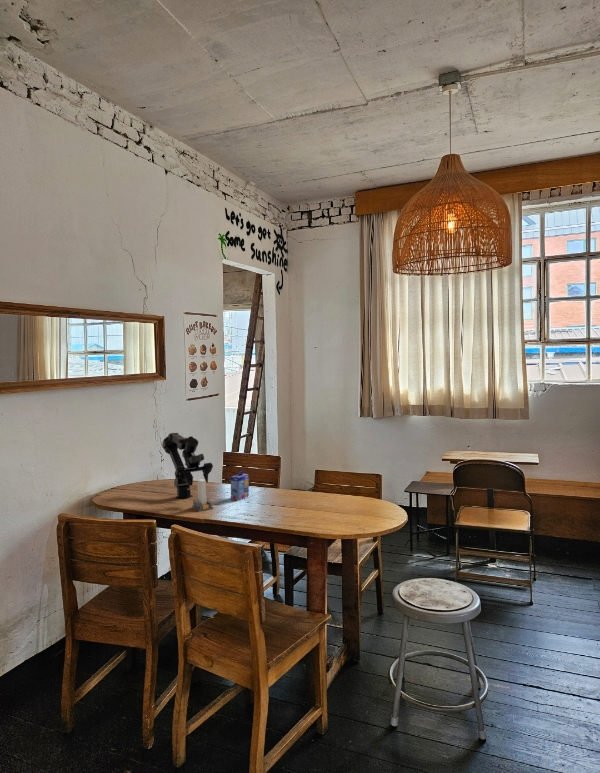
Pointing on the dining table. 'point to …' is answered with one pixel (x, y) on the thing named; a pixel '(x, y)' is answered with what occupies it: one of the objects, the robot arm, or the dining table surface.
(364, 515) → the dining table surface
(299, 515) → the dining table surface
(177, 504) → the dining table surface
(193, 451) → the robot arm
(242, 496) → the ink cartridge box
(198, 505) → the rack
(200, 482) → the panel
